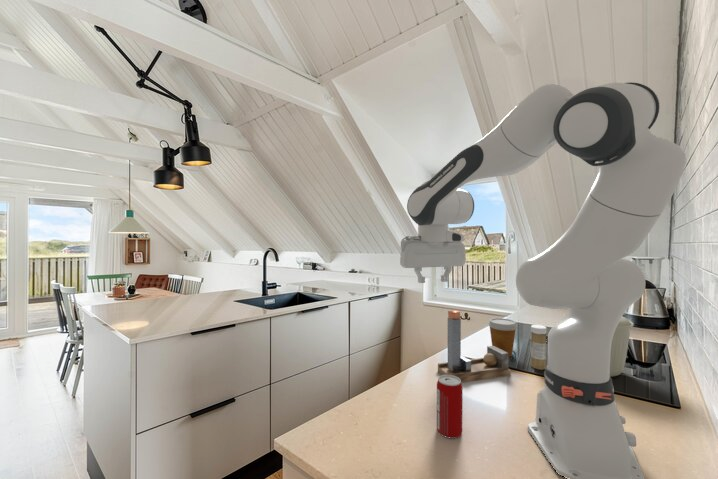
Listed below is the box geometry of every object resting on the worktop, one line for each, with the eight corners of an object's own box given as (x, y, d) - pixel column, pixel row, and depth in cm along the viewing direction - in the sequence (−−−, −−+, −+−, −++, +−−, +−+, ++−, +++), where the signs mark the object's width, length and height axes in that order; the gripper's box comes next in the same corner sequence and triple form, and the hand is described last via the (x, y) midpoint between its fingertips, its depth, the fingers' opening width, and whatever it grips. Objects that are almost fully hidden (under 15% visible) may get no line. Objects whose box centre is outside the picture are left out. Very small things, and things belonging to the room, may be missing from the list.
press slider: (454, 375, 98) (454, 314, 98) (443, 366, 104) (443, 309, 104) (471, 372, 100) (471, 313, 99) (459, 364, 106) (459, 308, 105)
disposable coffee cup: (523, 356, 117) (523, 323, 117) (502, 360, 113) (502, 326, 113) (502, 348, 126) (502, 316, 125) (482, 351, 122) (482, 319, 122)
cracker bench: (453, 383, 96) (453, 361, 96) (437, 371, 105) (437, 350, 105) (510, 375, 102) (510, 354, 102) (491, 364, 111) (491, 344, 110)
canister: (589, 383, 96) (589, 311, 96) (550, 359, 114) (551, 298, 114) (649, 382, 97) (650, 310, 96) (602, 358, 115) (602, 298, 114)
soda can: (467, 437, 71) (467, 382, 71) (444, 441, 70) (444, 385, 69) (453, 423, 76) (453, 371, 76) (432, 426, 75) (432, 374, 75)
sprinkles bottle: (534, 363, 111) (534, 323, 111) (548, 367, 108) (549, 326, 107) (528, 366, 108) (528, 326, 108) (542, 371, 105) (543, 329, 104)
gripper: (405, 236, 93) (405, 285, 93) (468, 235, 98) (468, 282, 99) (396, 236, 99) (396, 282, 99) (456, 235, 105) (456, 279, 105)
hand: (433, 282), depth 99 cm, fingers open, 6 cm apart
